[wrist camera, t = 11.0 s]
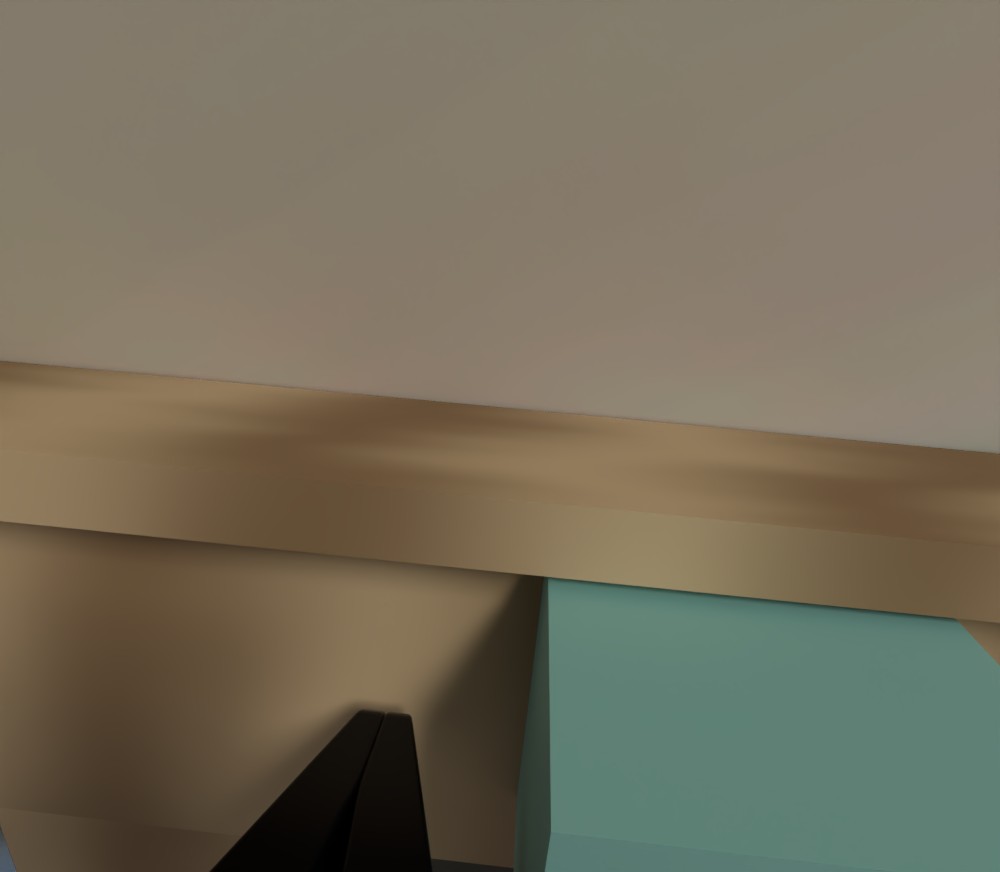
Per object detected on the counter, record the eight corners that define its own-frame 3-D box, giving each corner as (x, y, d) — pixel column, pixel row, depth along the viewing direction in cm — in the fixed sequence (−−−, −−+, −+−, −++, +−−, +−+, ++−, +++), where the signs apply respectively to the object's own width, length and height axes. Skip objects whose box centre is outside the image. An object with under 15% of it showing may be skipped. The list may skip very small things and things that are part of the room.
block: (921, 581, 8) (1229, 909, 4) (817, 831, 10) (975, 1205, 6) (548, 544, 8) (551, 831, 5) (516, 797, 10) (500, 1142, 7)
